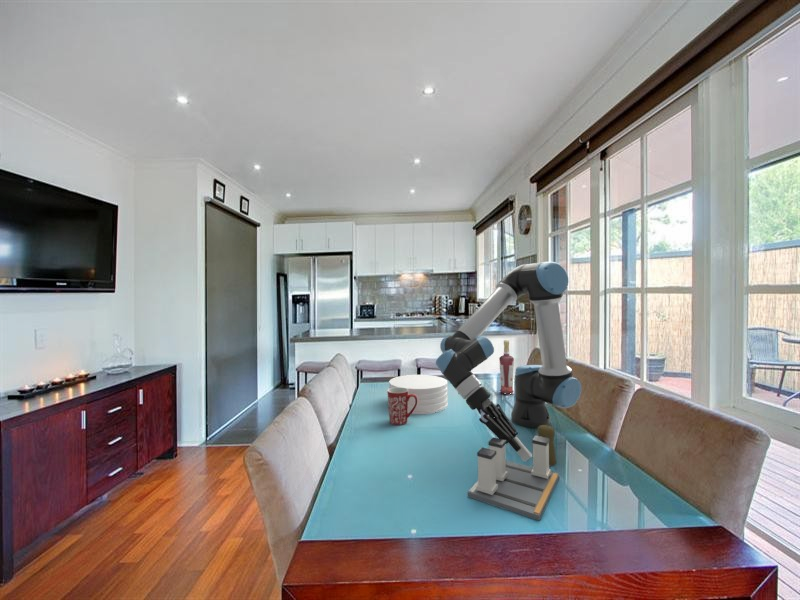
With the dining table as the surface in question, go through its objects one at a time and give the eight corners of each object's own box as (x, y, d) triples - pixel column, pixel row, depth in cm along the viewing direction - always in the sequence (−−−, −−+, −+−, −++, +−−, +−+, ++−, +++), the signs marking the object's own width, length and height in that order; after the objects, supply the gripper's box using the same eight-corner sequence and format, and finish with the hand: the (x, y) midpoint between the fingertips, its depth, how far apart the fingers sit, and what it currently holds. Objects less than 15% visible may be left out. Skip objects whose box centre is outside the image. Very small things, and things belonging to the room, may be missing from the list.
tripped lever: (550, 472, 101) (550, 438, 101) (547, 479, 98) (547, 443, 98) (534, 468, 104) (534, 435, 104) (531, 474, 101) (531, 439, 101)
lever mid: (507, 475, 100) (507, 440, 100) (502, 481, 97) (502, 445, 97) (492, 471, 103) (492, 437, 103) (487, 476, 100) (487, 441, 100)
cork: (555, 458, 114) (555, 424, 114) (557, 466, 108) (557, 430, 108) (535, 455, 116) (535, 422, 116) (536, 463, 110) (536, 428, 110)
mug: (384, 425, 145) (384, 392, 144) (390, 417, 153) (389, 386, 153) (415, 427, 142) (415, 393, 142) (419, 419, 151) (418, 387, 150)
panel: (559, 478, 102) (559, 473, 102) (539, 520, 83) (539, 514, 83) (497, 461, 112) (497, 457, 112) (467, 496, 93) (467, 491, 93)
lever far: (497, 488, 94) (497, 450, 94) (492, 495, 91) (492, 456, 90) (482, 483, 96) (481, 446, 96) (476, 489, 93) (475, 452, 93)
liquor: (513, 396, 184) (513, 341, 183) (499, 394, 186) (498, 341, 186) (514, 392, 190) (513, 340, 190) (500, 391, 193) (499, 339, 193)
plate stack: (391, 396, 186) (390, 374, 186) (444, 396, 185) (444, 374, 185) (387, 414, 158) (387, 389, 158) (450, 414, 157) (450, 388, 157)
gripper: (473, 395, 119) (525, 456, 110) (457, 405, 108) (512, 474, 99) (489, 381, 116) (543, 443, 107) (473, 390, 105) (532, 460, 96)
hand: (528, 458), depth 103 cm, fingers closed
